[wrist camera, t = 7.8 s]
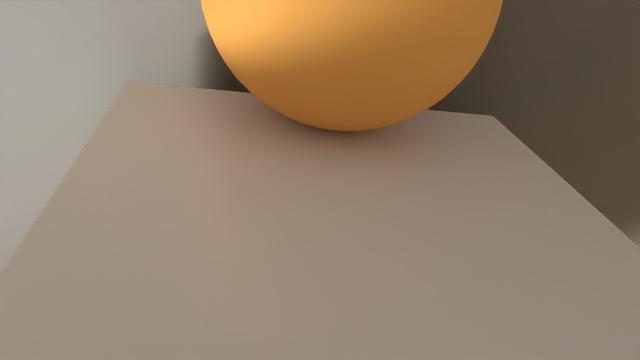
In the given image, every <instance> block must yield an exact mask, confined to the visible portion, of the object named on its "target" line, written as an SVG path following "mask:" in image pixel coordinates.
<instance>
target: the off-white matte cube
mask: <svg viewBox="0 0 640 360" xmlns="http://www.w3.org/2000/svg"><path fill="white" fill-rule="evenodd" d="M0 360H640V247H638V246H637V245H636V244H635V243H634V242H633V241H632V240H631V239H630V238H628V237H627V236H626V235H625V234H624V233H623V232H622V231H621V230H620V229H618V228H617V227H616V226H615V225H614V224H613V223H612V222H611V221H609V220H608V219H607V218H606V217H605V216H604V215H603V214H602V213H601V212H599V211H598V210H597V209H596V208H595V207H594V206H593V205H592V204H591V203H589V202H588V201H587V200H586V199H585V198H584V197H583V196H582V195H581V194H579V193H578V192H577V191H576V190H575V189H574V188H573V187H572V186H571V185H569V184H568V183H567V182H566V181H565V180H564V179H563V178H562V177H561V176H559V175H558V174H557V173H556V172H555V171H554V170H553V169H552V168H550V167H549V166H548V165H547V164H546V163H545V162H544V161H543V160H542V159H540V158H539V157H538V156H537V155H536V154H535V153H534V152H533V151H532V150H530V149H529V148H528V147H527V146H526V145H525V144H524V143H523V142H522V141H520V140H519V139H518V138H517V137H516V136H515V135H514V134H513V133H512V132H510V131H509V130H508V129H507V128H506V127H505V126H504V125H503V124H502V123H500V122H499V121H498V120H497V119H496V118H495V117H494V116H488V115H478V114H467V113H457V112H446V111H436V110H425V111H423V112H421V113H420V114H418V115H416V116H414V117H412V118H410V119H407V120H405V121H402V122H400V123H397V124H394V125H390V126H386V127H382V128H378V129H371V130H362V131H334V130H327V129H320V128H316V127H313V126H309V125H306V124H302V123H300V122H297V121H295V120H293V119H290V118H288V117H286V116H283V115H282V114H280V113H278V112H277V111H275V110H273V109H272V108H270V107H268V106H267V105H266V104H264V103H263V102H262V101H261V100H259V99H258V98H257V97H256V96H254V95H253V94H252V93H246V92H235V91H225V90H214V89H204V88H193V87H183V86H172V85H162V84H151V83H141V82H130V81H127V82H126V84H125V85H124V87H123V88H122V90H121V91H120V93H119V95H118V96H117V98H116V99H115V101H114V102H113V104H112V105H111V107H110V108H109V110H108V111H107V113H106V114H105V116H104V117H103V119H102V120H101V122H100V124H99V125H98V127H97V128H96V130H95V131H94V133H93V134H92V136H91V137H90V139H89V140H88V142H87V143H86V145H85V146H84V148H83V149H82V151H81V153H80V154H79V156H78V157H77V159H76V160H75V162H74V163H73V165H72V166H71V168H70V169H69V171H68V172H67V174H66V175H65V177H64V179H63V180H62V182H61V183H60V185H59V186H58V188H57V189H56V191H55V192H54V194H53V195H52V197H51V198H50V200H49V201H48V203H47V204H46V206H45V208H44V209H43V211H42V212H41V214H40V215H39V217H38V218H37V220H36V221H35V223H34V224H33V226H32V227H31V229H30V230H29V232H28V233H27V235H26V237H25V238H24V240H23V241H22V243H21V244H20V246H19V247H18V249H17V250H16V252H15V253H14V255H13V256H12V258H11V259H10V261H9V262H8V264H7V266H6V267H5V269H4V270H3V272H2V273H1V275H0Z"/></svg>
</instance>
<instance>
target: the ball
mask: <svg viewBox="0 0 640 360" xmlns="http://www.w3.org/2000/svg"><path fill="white" fill-rule="evenodd" d="M502 2H503V0H201V4H202V9H203V13H204V16H205V20H206V23H207V27H208V29H209V32H210V34H211V36H212V39H213V41H214V44H215V46H216V48H217V49H218V51H219V53H220V55H221V56H222V58H223V60H224V62H225V63H226V65H227V66H228V67H229V69H230V70H231V71H232V73H233V74H234V75H235V76H236V78H237V79H238V80H239V81H240V82H241V83H242V84H243V85H244V86H245V87H246V88H247V89H248V90H249V91H250V92H251V93H252V94H253V95H254V96H256V97H257V98H258V99H259V100H261V101H262V102H263V103H264V104H266V105H267V106H268V107H270V108H272V109H273V110H275V111H277V112H278V113H280V114H282V115H283V116H286V117H288V118H290V119H293V120H295V121H297V122H300V123H302V124H306V125H309V126H313V127H316V128H320V129H327V130H334V131H362V130H371V129H378V128H382V127H386V126H390V125H394V124H397V123H400V122H402V121H405V120H407V119H410V118H412V117H414V116H416V115H418V114H420V113H421V112H423V111H425V110H427V109H429V108H430V107H432V106H433V105H434V104H436V103H437V102H438V101H440V100H441V99H443V98H444V97H445V96H446V95H447V94H449V93H450V92H451V91H452V90H453V89H454V88H455V87H456V86H457V85H458V84H459V83H460V82H461V81H462V80H463V79H464V78H465V77H466V75H467V74H468V73H469V72H470V71H471V69H472V68H473V67H474V66H475V64H476V62H477V61H478V59H479V58H480V56H481V55H482V53H483V52H484V50H485V48H486V46H487V44H488V42H489V40H490V38H491V36H492V34H493V32H494V29H495V26H496V23H497V20H498V18H499V15H500V11H501V7H502Z"/></svg>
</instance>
